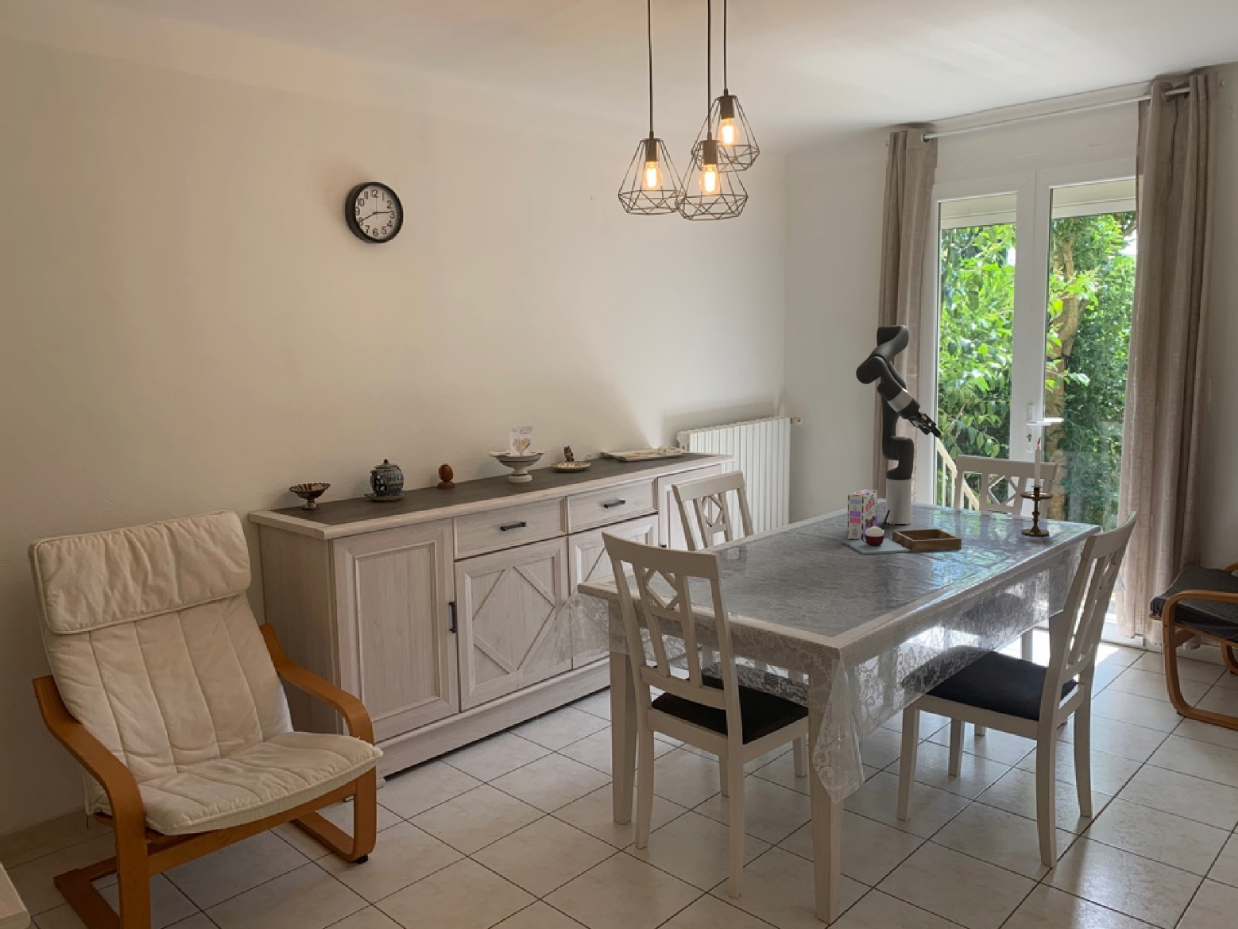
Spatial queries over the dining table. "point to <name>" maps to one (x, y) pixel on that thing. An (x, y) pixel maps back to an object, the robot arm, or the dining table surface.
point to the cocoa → (875, 534)
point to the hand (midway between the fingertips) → (933, 434)
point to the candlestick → (1036, 497)
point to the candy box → (861, 512)
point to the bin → (910, 540)
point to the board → (876, 547)
